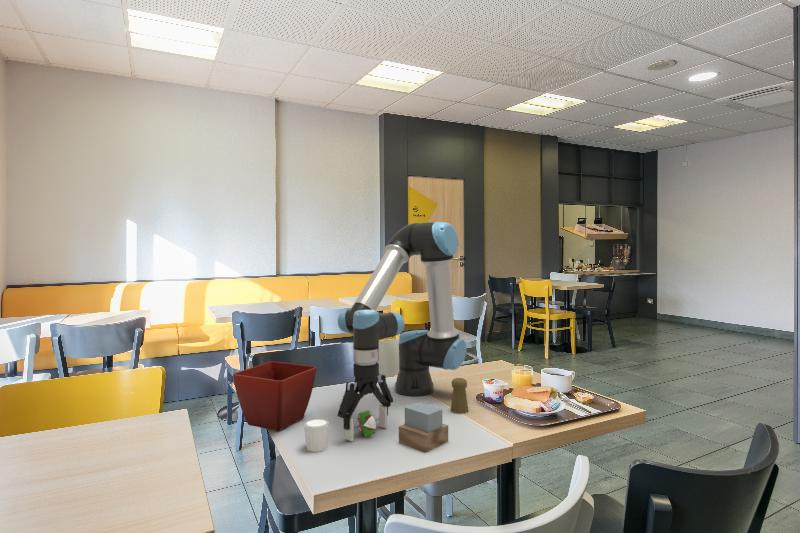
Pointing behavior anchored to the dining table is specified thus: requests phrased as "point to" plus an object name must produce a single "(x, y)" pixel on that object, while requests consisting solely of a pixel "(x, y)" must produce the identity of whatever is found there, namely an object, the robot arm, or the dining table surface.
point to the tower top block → (423, 417)
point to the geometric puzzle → (367, 423)
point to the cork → (459, 396)
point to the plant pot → (274, 393)
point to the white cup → (316, 434)
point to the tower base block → (423, 437)
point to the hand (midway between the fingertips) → (366, 433)
